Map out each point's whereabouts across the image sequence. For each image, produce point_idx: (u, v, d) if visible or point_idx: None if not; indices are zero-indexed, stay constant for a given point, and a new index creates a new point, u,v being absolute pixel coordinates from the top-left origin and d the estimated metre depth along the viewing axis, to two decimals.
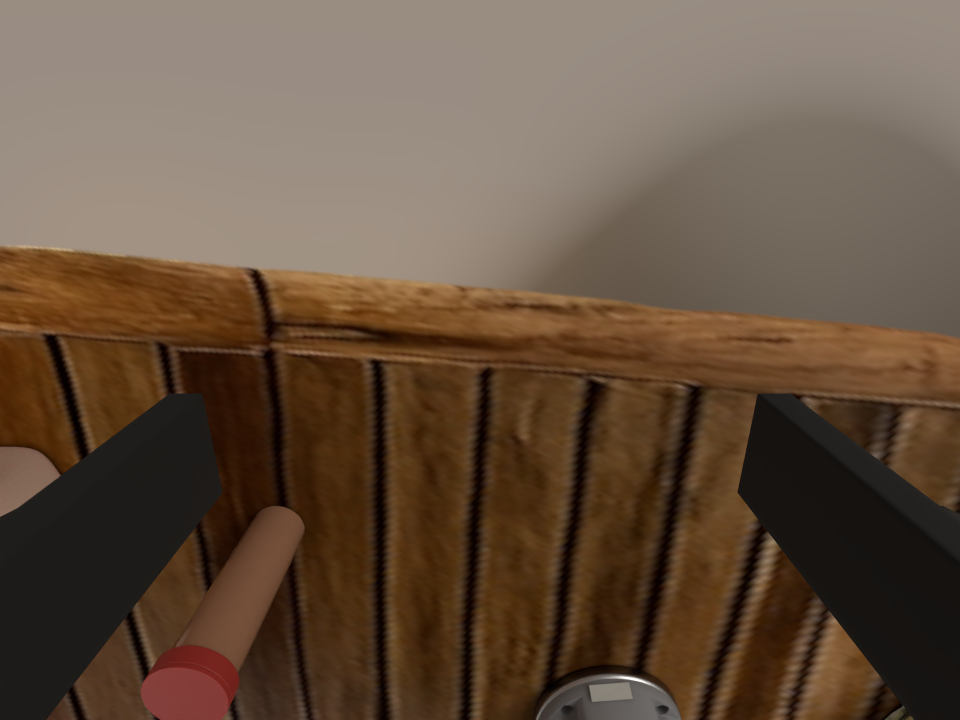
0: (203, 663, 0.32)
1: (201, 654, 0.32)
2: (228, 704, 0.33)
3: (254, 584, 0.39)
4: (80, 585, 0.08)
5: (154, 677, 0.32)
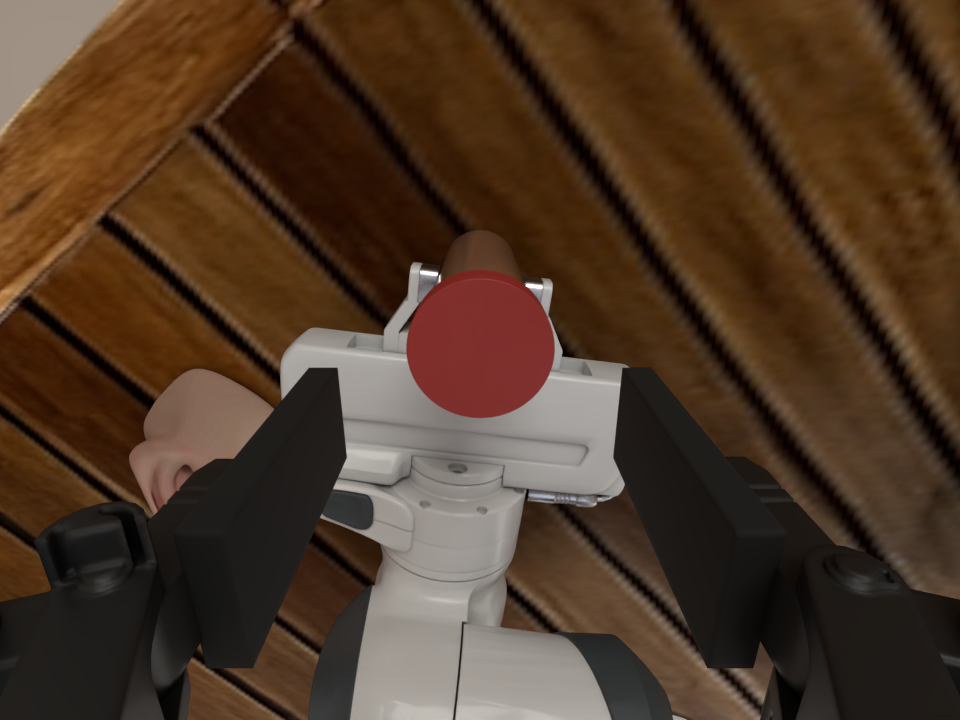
0: (463, 277, 0.18)
1: (454, 277, 0.19)
2: (545, 316, 0.18)
3: (480, 252, 0.25)
4: (284, 520, 0.10)
5: (415, 342, 0.19)
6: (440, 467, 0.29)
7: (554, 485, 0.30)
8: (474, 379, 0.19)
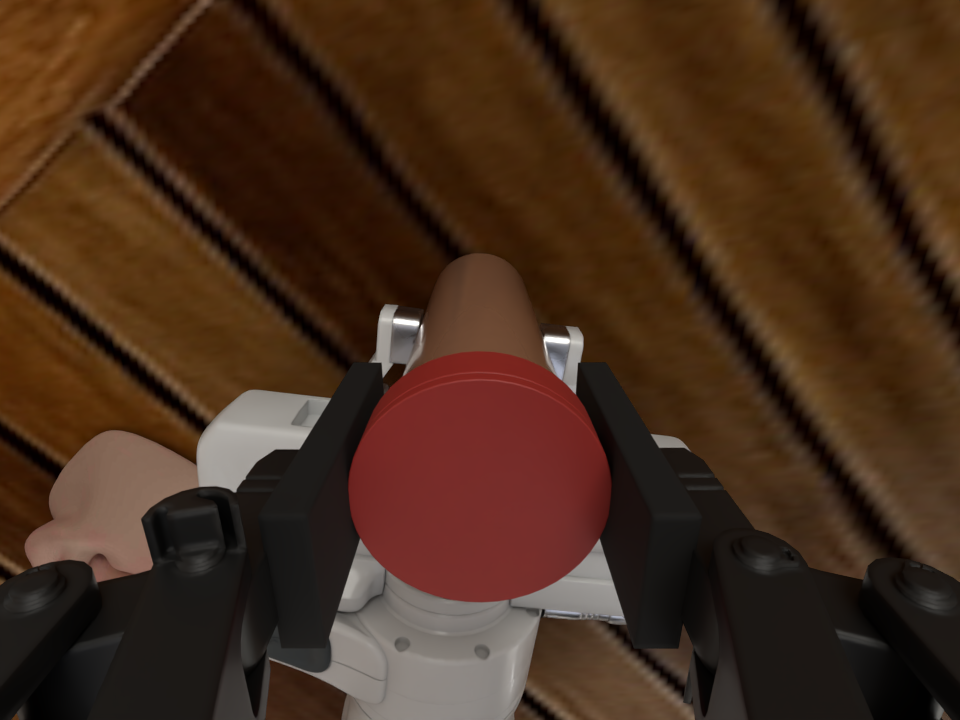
0: (449, 371, 0.10)
1: (433, 367, 0.11)
2: (597, 442, 0.10)
3: (480, 298, 0.17)
4: (346, 508, 0.10)
5: (362, 485, 0.10)
6: None
7: (581, 606, 0.22)
8: (469, 544, 0.11)
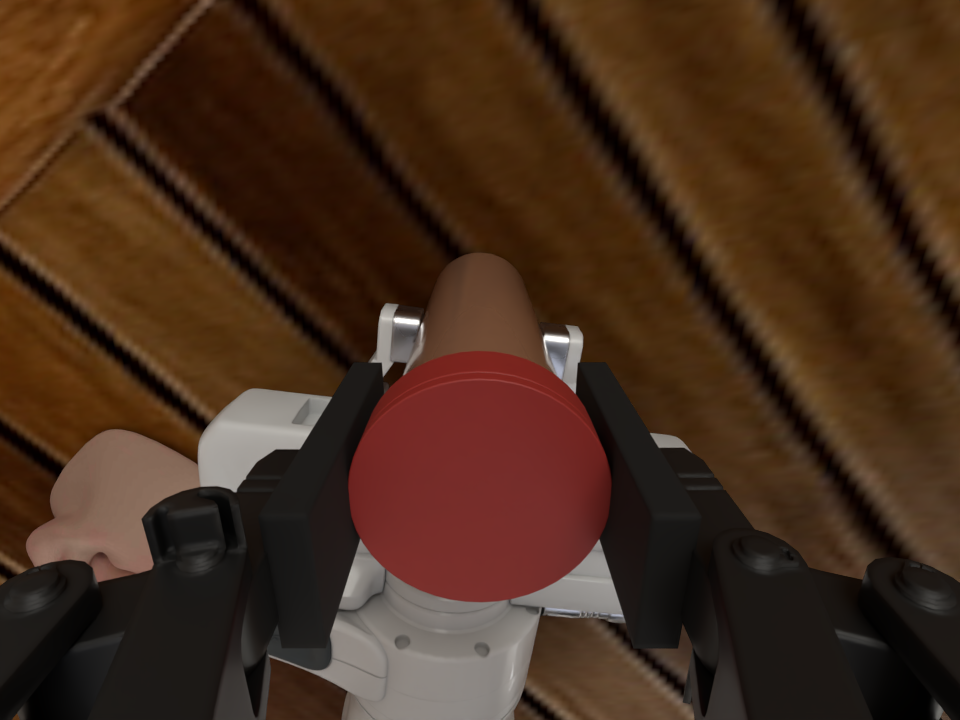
0: None
1: None
2: (425, 388, 0.10)
3: (480, 296, 0.17)
4: (346, 508, 0.10)
5: (448, 589, 0.11)
6: None
7: (581, 604, 0.22)
8: (530, 516, 0.11)
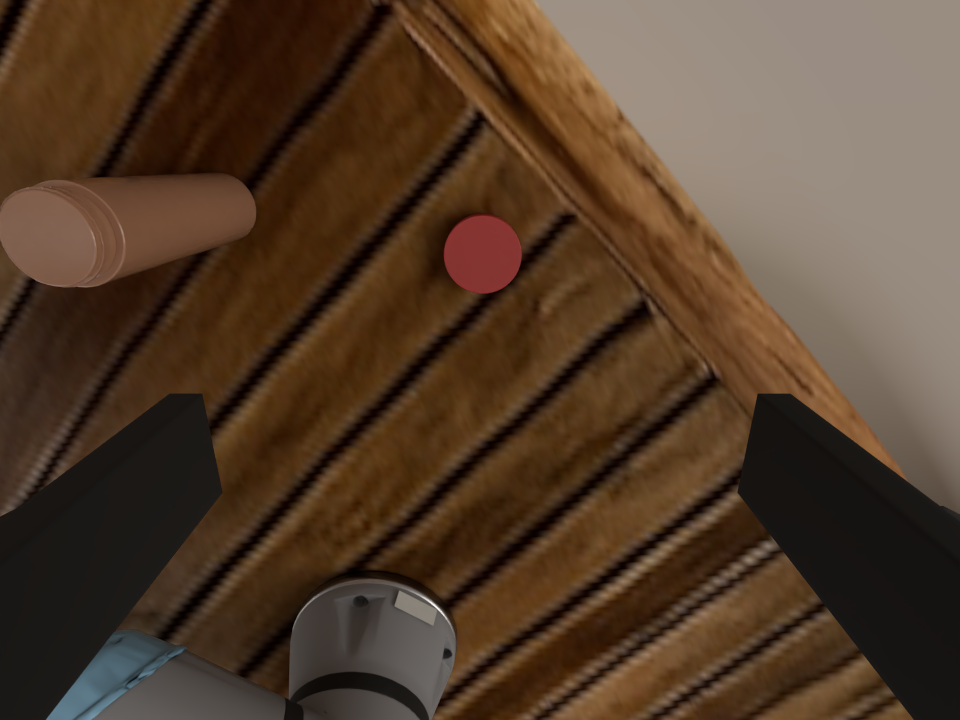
0: (494, 216, 0.36)
1: (488, 214, 0.36)
2: None
3: (190, 215, 0.28)
4: (80, 585, 0.08)
5: (455, 233, 0.35)
6: None
7: None
8: (472, 267, 0.36)
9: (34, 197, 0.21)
